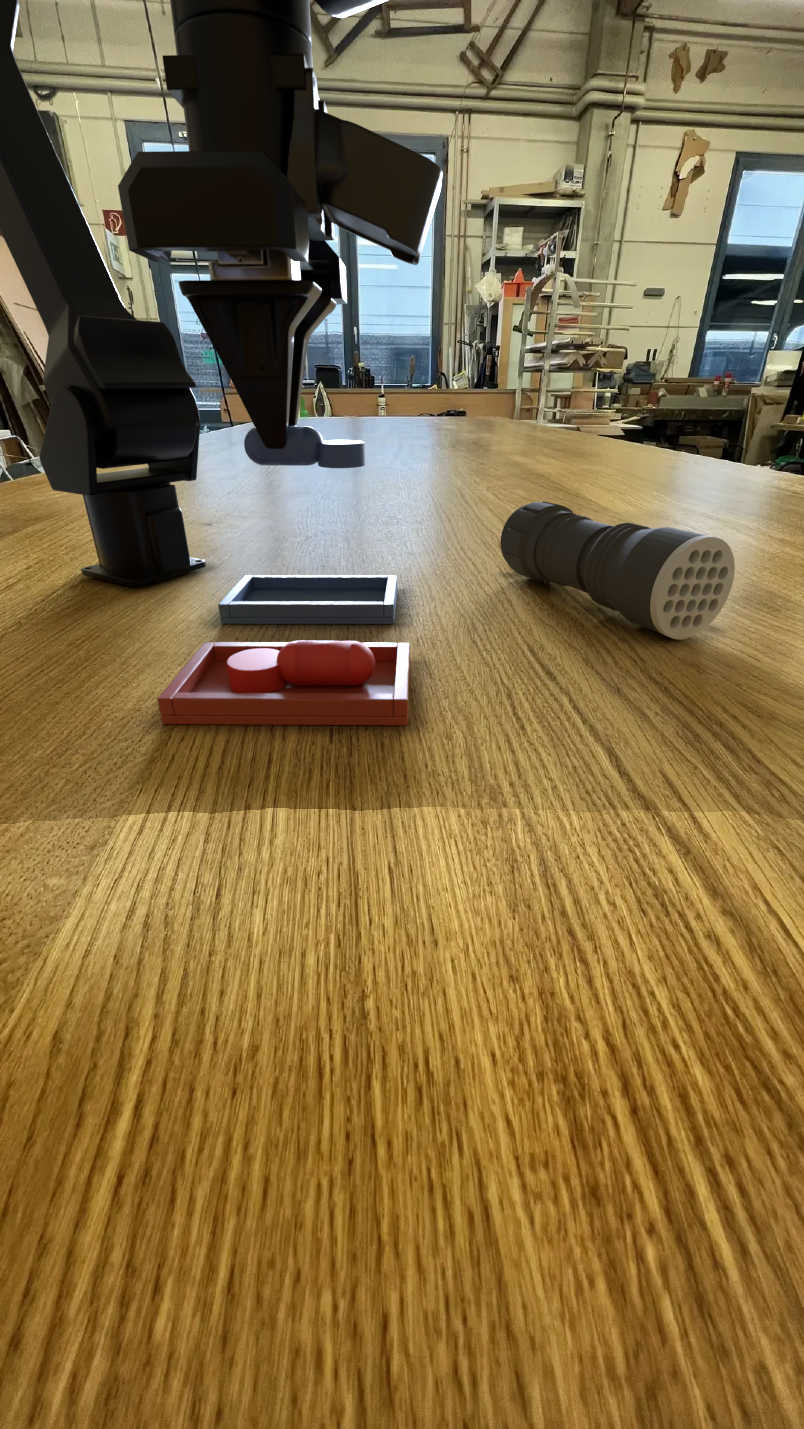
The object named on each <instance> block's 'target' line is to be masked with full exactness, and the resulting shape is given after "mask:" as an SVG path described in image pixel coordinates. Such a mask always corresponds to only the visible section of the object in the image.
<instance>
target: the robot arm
mask: <svg viewBox="0 0 804 1429" xmlns="http://www.w3.org/2000/svg"><path fill="white" fill-rule="evenodd" d="M313 1H314V2H315V3H316V4H317V5H318V7H320V9H321V10H322V11H324V12H325V13H326V14H328V15H329V16H331V17H334V18H340V19H344V18H347V17H349V16H352V15H354V14H357V13H360V12H362V11H365V10H367V9H370V8H372V7H375V6H377V5H380V4H382V3H385V2H388V1H389V0H313ZM19 2H20V1H19V0H0V233H1V236H2V237H3V239H4V242H5V244H6V246H7V248H8V251H9V253H10V255H11V257H12V259H13V261H14V263H15V265H16V268H17V269H18V272H19V274H20V276H21V278H22V280H23V282H24V285H25V286H26V289H27V291H28V293H29V295H30V297H31V300H32V302H33V303H34V306H35V308H36V310H37V312H38V315H39V316H40V319H41V321H42V323H43V325H44V327H45V330H46V333H47V335H48V337H47V347H46V354H45V360H44V369H43V375H42V376H43V377H42V384H43V387H44V389H45V393H46V395H47V397H48V399H49V403H50V410H49V413H48V418H47V422H46V426H45V431H44V435H43V438H42V443H41V448H40V452H39V456H38V457H39V462H40V465H41V467H42V469H43V471H44V474H45V475H46V477H47V481H48V483H49V485H50V488H51V490H53V491H56V492H61V493H67V494H68V493H69V494H73V495H74V494H76V495H81V496H82V499H83V503H84V507H85V511H86V515H87V520H88V523H89V527H90V531H91V535H92V539H93V543H94V544H93V545H94V548H95V551H96V556H97V559H98V563H95V564H93V565H89V566H84V567H81V568H80V571H81V575H82V576H83V577H84V576H85V577H89V578H93V579H98V580H102V581H106V582H110V583H111V582H112V583H115V584H120V585H124V586H129V587H133V588H134V587H135V588H137V587H138V588H139V587H144V586H147V585H151V584H154V583H157V582H160V581H163V580H166V579H170V578H173V577H177V576H180V575H183V574H187V573H189V572H193V571H197V570H199V569H203V568H206V567H207V564H206V560H205V559H200V558H195V557H191V556H190V549H189V544H188V538H187V532H186V526H185V522H184V515H183V511H182V509H181V508H180V504H179V499H178V493H177V488H176V485H175V484H172V483H177V482H194V481H196V480H197V477H198V476H197V474H198V462H199V461H198V460H199V447H200V446H199V445H200V434H201V432H200V430H201V416H200V410H199V406H198V403H197V399H196V397H195V395H194V393H193V391H192V389H196V387H197V384H196V382H195V380H194V379H193V377H192V376H191V375H190V374H189V373H188V371H187V369H186V367H185V365H184V363H183V361H182V358H181V355H180V351H179V349H178V346H177V343H176V340H175V336H174V335H173V333H172V332H171V330H170V329H169V328H168V326H167V325H166V324H165V322H164V321H156V320H144V319H137V318H136V317H135V316H134V315H133V314H132V313H130V311H128V309H127V308H126V306H125V305H124V303H123V302H122V299H121V296H120V294H119V292H118V290H117V288H116V285H115V283H114V281H113V279H112V276H111V274H110V272H109V269H108V267H107V265H106V263H105V260H104V258H103V255H102V253H101V251H100V249H99V247H98V244H97V242H96V240H95V238H94V236H93V233H92V231H91V228H90V226H89V224H88V222H87V220H86V217H85V215H84V213H83V211H82V208H81V206H80V203H79V201H78V199H77V197H76V194H75V191H74V190H73V188H72V185H71V183H70V181H69V178H68V177H67V174H66V172H65V169H64V168H63V164H62V163H61V160H60V158H59V156H58V154H57V151H56V149H55V147H54V144H53V142H52V140H51V138H50V135H49V133H48V131H47V129H46V126H45V124H44V122H43V120H42V117H41V114H40V113H39V111H38V108H37V105H36V104H35V101H34V98H33V96H32V95H31V92H30V90H29V88H28V85H27V83H26V81H25V78H24V77H23V74H22V72H21V68H20V67H19V66H18V62H17V59H16V57H15V54H14V47H15V39H16V32H17V27H18V26H17V25H18V20H19V19H18V18H19V13H20V12H19V11H20V3H19ZM310 2H311V1H310V0H169V5H170V12H171V19H172V26H173V36H174V45H175V53H176V54H171V55H170V54H166V55H165V54H163V55H162V56H161V57H162V63H163V64H162V65H163V72H164V78H165V85H166V90H167V91H168V93H169V94H170V95H171V96H172V97H173V99H174V100H175V101H176V102H177V104H179V105H180V107H181V108H182V109H183V113H184V114H183V116H184V122H185V131H186V138H187V146H188V150H177V151H176V150H172V151H171V150H169V151H167V150H164V151H161V150H160V151H137V152H136V154H135V156H134V158H133V159H132V161H131V162H130V164H129V166H128V168H127V169H126V171H125V173H124V175H123V176H122V178H121V179H120V182H119V183H118V185H117V189H118V195H119V201H120V206H121V212H122V217H123V218H122V219H123V224H124V230H125V236H126V241H127V247H128V251H129V252H131V253H134V254H136V255H138V256H141V257H142V258H145V259H147V260H149V261H152V262H154V263H171V258H172V251H186V252H187V251H188V252H216V254H217V260H208V262H207V263H208V270H209V278H210V279H206V280H205V279H204V280H202V279H200V280H197V279H196V280H195V279H194V280H193V279H192V280H188V279H187V280H179V281H178V286H179V290H180V293H181V295H182V296H183V297H185V298H186V299H187V300H188V302H189V304H190V306H191V307H192V309H193V311H194V313H195V315H196V317H197V319H198V320H199V323H200V324H201V327H202V328H203V330H204V332H205V333H206V336H207V337H208V340H209V341H210V343H211V345H212V347H213V349H214V350H215V352H216V354H217V356H218V358H219V359H220V362H221V364H222V365H223V367H224V370H225V371H226V373H227V375H228V377H229V379H230V380H231V383H232V385H233V387H234V389H235V390H236V393H237V395H238V397H239V398H240V401H241V403H242V405H243V406H244V408H245V410H246V412H247V414H248V416H249V418H250V420H251V422H252V424H253V427H255V428H256V430H257V432H258V434H259V436H260V438H261V440H262V442H263V444H264V446H265V447H266V448H268V449H282V448H284V447H286V445H287V435H288V426H298V420H299V413H300V412H299V411H300V406H301V395H302V390H303V382H304V375H305V368H306V361H307V354H308V350H309V349H308V347H309V341H310V338H311V336H312V335H313V333H314V332H315V331H316V330H317V328H318V327H319V326H320V325H321V324H322V323H323V322H324V320H325V319H326V318H327V317H328V316H329V315H331V314H332V313H333V312H334V311H335V309H336V307H337V306H338V305H346V304H348V292H347V288H348V287H347V267H346V266H345V264H344V262H343V261H342V259H341V257H340V256H339V255H338V254H337V253H336V251H335V250H334V249H333V248H332V247H331V246H330V244H329V243H328V242H327V241H335V226H337V227H338V228H340V229H342V230H344V231H346V232H348V233H351V234H352V235H355V236H357V237H359V238H361V239H363V240H366V241H368V242H370V243H373V244H375V245H377V246H379V247H381V248H384V249H386V250H388V251H389V252H390V254H391V256H392V257H393V258H395V259H397V260H399V261H401V262H403V263H407V264H410V265H412V266H413V265H414V266H418V265H419V263H420V260H421V257H422V254H423V251H424V248H425V243H426V240H427V237H428V233H429V231H430V227H431V224H432V220H433V216H434V214H435V210H436V207H437V204H438V201H439V197H440V194H441V190H442V181H443V170H442V168H441V167H440V166H439V165H438V164H437V163H436V162H435V161H434V160H431V159H430V158H429V157H427V156H425V155H423V154H420V153H419V152H417V151H415V150H413V149H410V148H408V147H406V146H404V145H402V144H400V143H397V142H395V141H393V140H391V139H389V138H387V137H385V136H383V135H382V134H378V133H377V132H375V131H372V130H370V129H368V128H367V127H364V126H363V125H362V126H361V125H359V124H357V123H355V122H353V121H349V120H345V119H342V118H340V117H337V116H335V115H332V114H331V113H328V108H327V104H326V101H325V100H324V99H321V98H320V95H319V93H318V92H319V91H318V79H317V76H316V73H315V70H314V62H313V61H314V60H313V44H312V42H313V41H312V24H311V23H312V22H311V4H310ZM140 465H147V466H148V467H143V468H133V469H127V470H118V471H108V472H100V473H98V469H102V470H105V469H114V468H115V469H116V468H124V467H132V466H140Z"/></svg>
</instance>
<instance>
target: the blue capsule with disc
mask: <svg viewBox="0 0 804 1429" xmlns="http://www.w3.org/2000/svg"><path fill="white" fill-rule="evenodd" d="M243 447H244V451H245V453H246V455H247V457H248V458H249V460H251V461H252V462H253V463H255V464H256V465H259V466H273V467H274V466H276V467H277V466H279V467H280V466H284V467H285V466H293V467H296V466H298V467H300V466H303V467H304V466H306V467H307V466H313V465H315V464H317V466H318V467H320V468H323V469H324V468H325V469H354V468H355V469H356V468H363V467H364V466H365V465H366V454H365V452H366V451H365V441H364V440H363V441H362V440H357V439H356V440H354V439H331V440H330V439H329V440H324V437H323V436H322V434H321V432H319V430H317V429H316V428H315V427H312V426H309V425H297V426H288V435H287V445H286V447H284V448H282V449H268V448H266V447H265V446H264V444H263V442H262V440H261V438H260V436H259V434H258V432H257V430H256V428H255V426H253V427H252V428H250V429H249V430H248V431H247V433H246V435H245V437H244V440H243Z"/></svg>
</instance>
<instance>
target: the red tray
mask: <svg viewBox="0 0 804 1429" xmlns="http://www.w3.org/2000/svg"><path fill="white" fill-rule="evenodd" d="M290 642H291V641H290ZM290 642H289V641H287V642H286V641H284V642H283V641H268V642H267V641H260V642H259V641H229V642H228V641H216V642H214V641H210V642H209V641H205V642H203V643H202V644H201V646H199V648H198V649H197V650H196V651H195V653H194V654H193V655H192V656H191V657H190V659H189V660H188V661H187V662H186V663H185V665H184V666H183V667H182V669H181V670H180V671H179V672H178V673H177V675H175V677H173V679H172V680H171V682H169V684H168V685H167V686H166V687H165V689H164V690H163V691H162V692H161V693H160V695H159V696H158V697H157V704H158V709H159V713H160V718H161V723H162V724H163V725H263V726H264V725H266V726H267V725H270V726H271V725H273V726H275V725H277V726H278V725H280V726H281V725H282V726H283V725H286V726H288V725H289V726H290V725H291V726H292V725H293V726H294V725H295V726H297V725H298V726H408V725H409V710H410V709H409V707H410V706H409V705H410V677H411V676H410V674H411V644H410V642H362V643H363V644H365V645H366V646H367V647H368V648H369V649H370V650H371V651H372V653H373V655H374V659H375V668H374V671H373V674H372V675H371V677H370V678H369V679H368V680H367V681H366V682H364V683H362V684H360V685H356V686H301V685H293V684H290V683H287V684H286V686H285V687H283V688H282V689H280V690H278V691H276V692H273V693H236V692H234V691H233V690H232V689H231V687H230V682H229V676H228V669H227V660H228V658H229V657H231V656H232V655H234V654H236V653H238V652H241V651H244V650H249V649H257V648H268V649H275V650H278V651H280V650H281V649H282V647H284V646H285V645H286V644H288V643H290Z"/></svg>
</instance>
